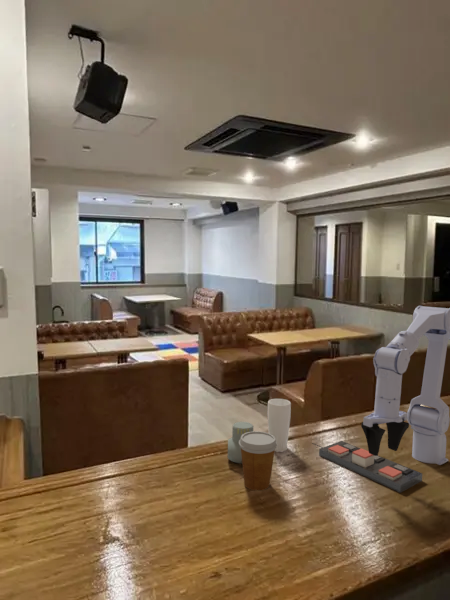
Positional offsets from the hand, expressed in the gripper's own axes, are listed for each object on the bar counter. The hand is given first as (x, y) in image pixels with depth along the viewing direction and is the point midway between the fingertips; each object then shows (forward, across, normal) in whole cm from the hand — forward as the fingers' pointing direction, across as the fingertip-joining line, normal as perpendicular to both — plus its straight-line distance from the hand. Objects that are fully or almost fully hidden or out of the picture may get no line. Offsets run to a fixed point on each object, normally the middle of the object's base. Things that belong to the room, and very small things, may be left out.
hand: (383, 451), depth 107 cm
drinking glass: (+10, -6, +31) cm, 33 cm away
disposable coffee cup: (+12, -24, +18) cm, 32 cm away
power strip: (+9, +6, +12) cm, 16 cm away
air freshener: (+11, -19, +32) cm, 39 cm away
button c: (+8, +4, 0) cm, 9 cm away
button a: (+8, +3, +16) cm, 18 cm away
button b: (+6, +3, +8) cm, 11 cm away
